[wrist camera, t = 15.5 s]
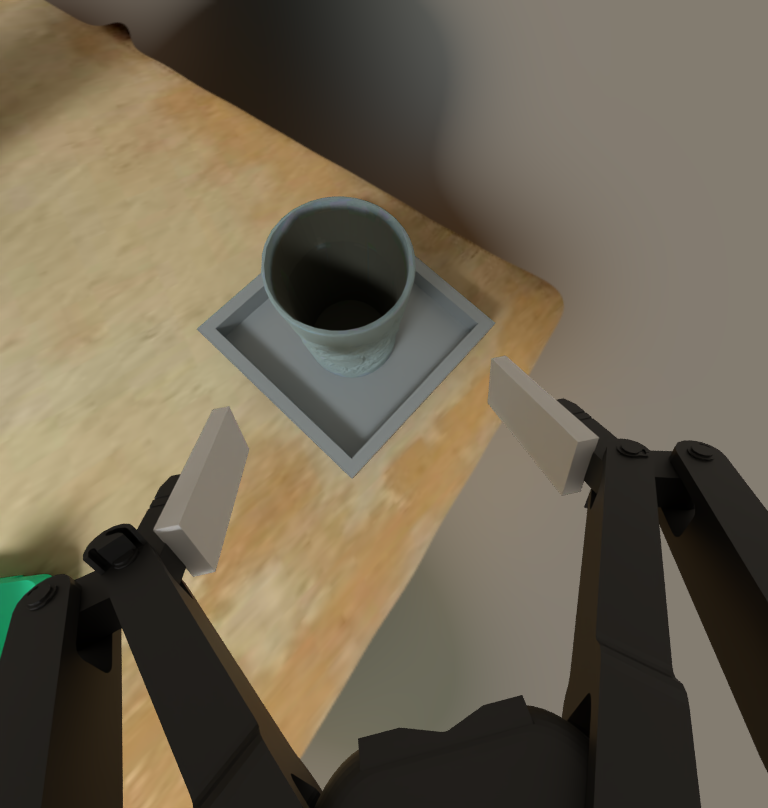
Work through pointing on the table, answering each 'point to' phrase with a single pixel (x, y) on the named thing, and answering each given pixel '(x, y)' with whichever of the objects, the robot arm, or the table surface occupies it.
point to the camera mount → (14, 598)
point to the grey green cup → (341, 280)
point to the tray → (343, 396)
